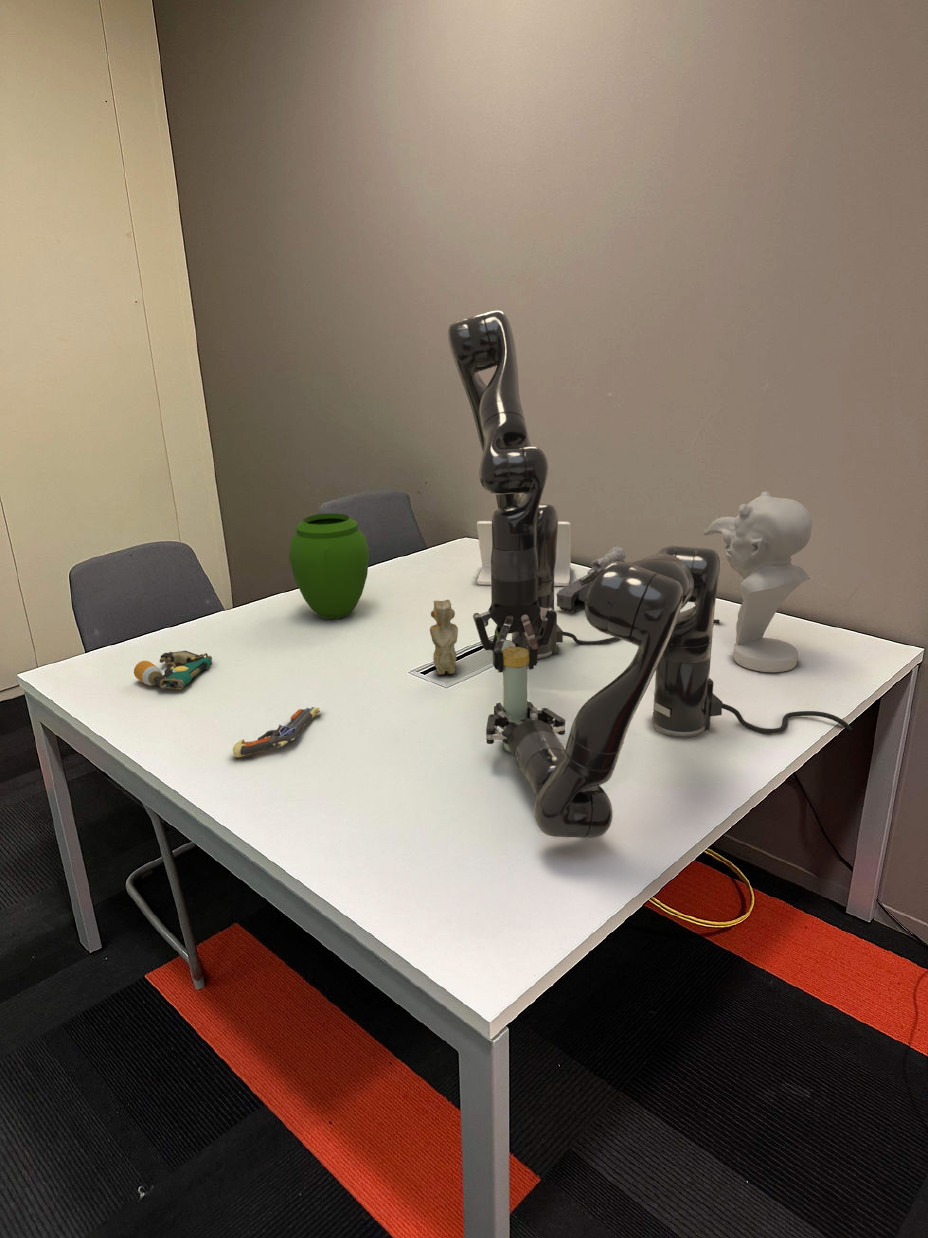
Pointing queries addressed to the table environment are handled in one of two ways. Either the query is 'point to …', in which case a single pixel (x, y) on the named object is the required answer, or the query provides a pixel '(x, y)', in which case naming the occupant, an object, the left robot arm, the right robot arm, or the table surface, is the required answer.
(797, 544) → the bust sculpture
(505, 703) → the pale green cylinder
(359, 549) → the vase
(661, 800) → the table surface
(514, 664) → the lid
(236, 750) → the toy gun
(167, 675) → the spray gun
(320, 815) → the table surface
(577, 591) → the toy
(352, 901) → the table surface
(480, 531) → the tablet stand
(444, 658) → the sculpture
